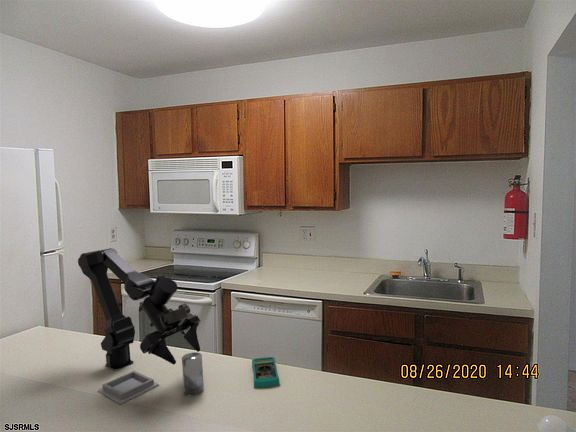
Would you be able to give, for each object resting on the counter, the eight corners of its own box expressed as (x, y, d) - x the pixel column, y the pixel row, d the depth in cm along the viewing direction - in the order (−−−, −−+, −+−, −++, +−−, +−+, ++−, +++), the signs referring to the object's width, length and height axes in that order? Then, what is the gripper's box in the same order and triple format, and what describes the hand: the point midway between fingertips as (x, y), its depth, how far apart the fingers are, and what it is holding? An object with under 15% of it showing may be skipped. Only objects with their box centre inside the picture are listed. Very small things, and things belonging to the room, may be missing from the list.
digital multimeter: (254, 390, 116) (253, 380, 116) (252, 366, 131) (251, 357, 130) (279, 387, 117) (279, 377, 117) (275, 364, 132) (274, 355, 131)
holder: (135, 374, 127) (135, 368, 127) (158, 385, 120) (158, 379, 120) (98, 391, 118) (97, 385, 118) (120, 404, 110) (120, 397, 110)
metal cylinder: (195, 383, 120) (193, 350, 119) (208, 389, 117) (205, 355, 116) (180, 392, 116) (177, 358, 115) (192, 397, 112) (190, 362, 111)
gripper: (143, 306, 110) (174, 354, 105) (194, 289, 125) (223, 329, 120) (127, 330, 115) (156, 376, 110) (178, 310, 130) (205, 350, 125)
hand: (187, 357), depth 116 cm, fingers open, 9 cm apart
